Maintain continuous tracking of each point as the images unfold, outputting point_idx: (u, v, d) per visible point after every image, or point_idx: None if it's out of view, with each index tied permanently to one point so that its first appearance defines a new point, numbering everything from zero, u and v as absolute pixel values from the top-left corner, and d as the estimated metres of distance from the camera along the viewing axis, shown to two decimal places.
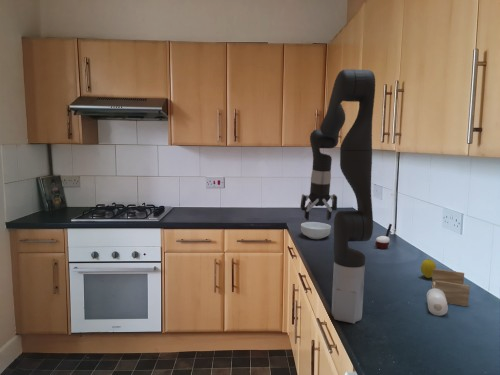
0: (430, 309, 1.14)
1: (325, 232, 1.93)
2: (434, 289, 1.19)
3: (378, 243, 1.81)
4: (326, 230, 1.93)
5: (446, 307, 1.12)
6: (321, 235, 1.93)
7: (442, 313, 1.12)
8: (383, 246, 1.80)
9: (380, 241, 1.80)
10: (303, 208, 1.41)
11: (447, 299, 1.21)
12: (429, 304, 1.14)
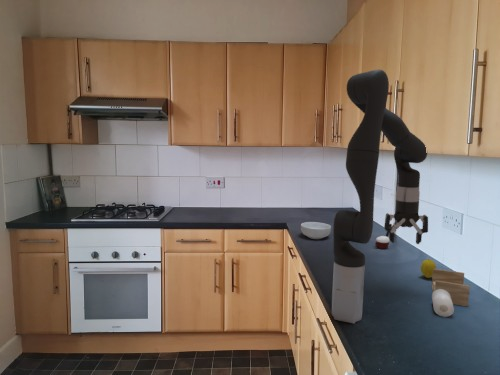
0: (435, 306, 1.13)
1: (325, 232, 1.93)
2: (445, 291, 1.18)
3: (378, 243, 1.81)
4: (326, 230, 1.93)
5: (451, 312, 1.11)
6: (321, 235, 1.93)
7: (443, 315, 1.12)
8: (383, 246, 1.80)
9: (380, 241, 1.80)
10: (387, 228, 1.29)
11: None
12: (437, 302, 1.13)
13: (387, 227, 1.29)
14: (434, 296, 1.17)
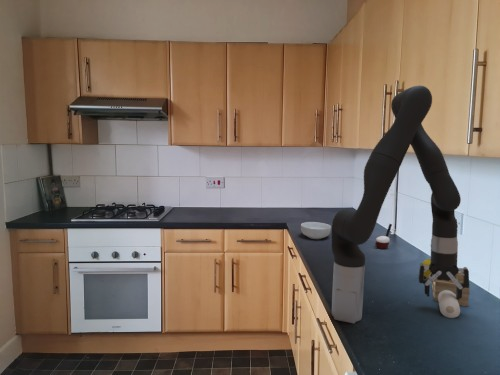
0: (445, 302, 1.12)
1: (325, 232, 1.93)
2: None
3: (378, 243, 1.81)
4: (326, 230, 1.93)
5: (451, 316, 1.11)
6: (321, 235, 1.93)
7: (443, 313, 1.12)
8: (383, 246, 1.80)
9: (380, 241, 1.80)
10: (421, 280, 1.17)
11: None
12: (451, 302, 1.11)
13: (421, 279, 1.17)
14: (447, 294, 1.15)
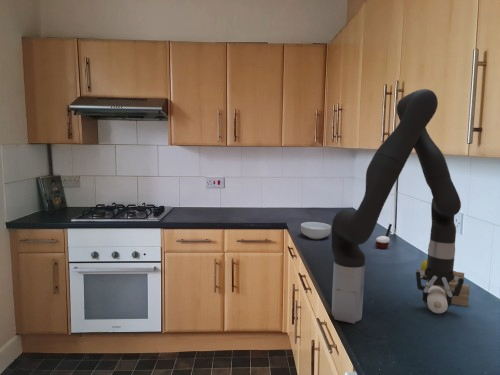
0: (429, 302, 1.13)
1: (325, 232, 1.93)
2: (440, 288, 1.18)
3: (378, 243, 1.81)
4: (326, 230, 1.93)
5: (445, 309, 1.11)
6: (321, 235, 1.93)
7: (437, 311, 1.12)
8: (383, 246, 1.80)
9: (380, 241, 1.80)
10: (419, 287, 1.17)
11: None
12: (431, 298, 1.12)
13: (419, 285, 1.17)
14: (429, 292, 1.17)
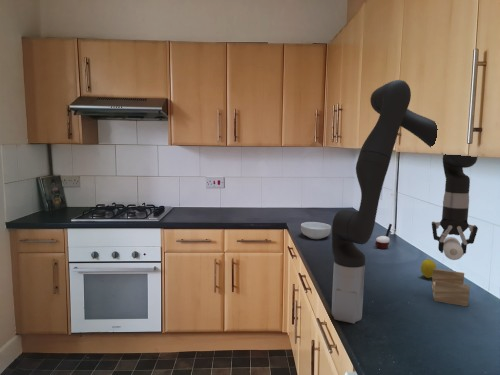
0: (445, 250, 1.20)
1: (325, 232, 1.93)
2: (455, 238, 1.25)
3: (378, 243, 1.81)
4: (326, 230, 1.93)
5: (460, 255, 1.18)
6: (321, 235, 1.93)
7: (453, 258, 1.19)
8: (383, 246, 1.80)
9: (380, 241, 1.80)
10: (436, 237, 1.23)
11: (447, 299, 1.21)
12: (448, 246, 1.19)
13: (435, 236, 1.24)
14: (444, 242, 1.24)
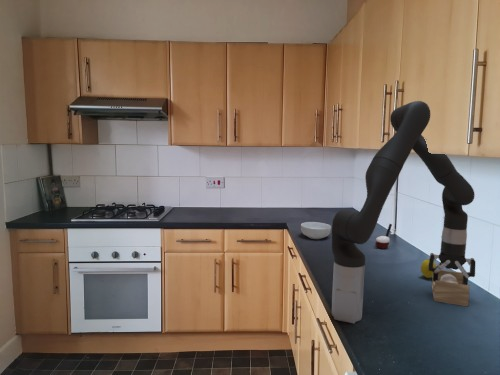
0: None
1: (325, 232, 1.93)
2: (452, 276, 1.29)
3: (378, 243, 1.81)
4: (326, 230, 1.93)
5: None
6: (321, 235, 1.93)
7: None
8: (383, 246, 1.80)
9: (380, 241, 1.80)
10: (430, 268, 1.27)
11: (447, 299, 1.21)
12: None
13: (431, 267, 1.27)
14: (442, 280, 1.28)
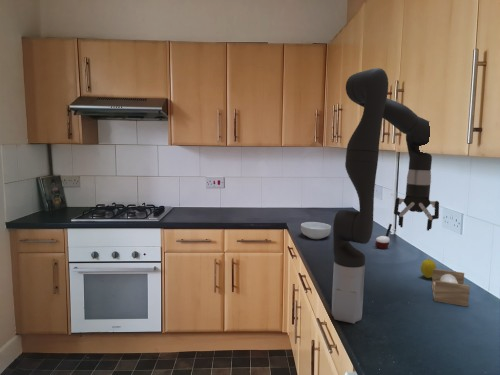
0: None
1: (325, 232, 1.93)
2: (452, 276, 1.29)
3: (378, 243, 1.81)
4: (326, 230, 1.93)
5: None
6: (321, 235, 1.93)
7: None
8: (383, 246, 1.80)
9: (380, 241, 1.80)
10: (395, 212, 1.27)
11: (447, 299, 1.21)
12: None
13: (396, 211, 1.27)
14: (442, 280, 1.28)
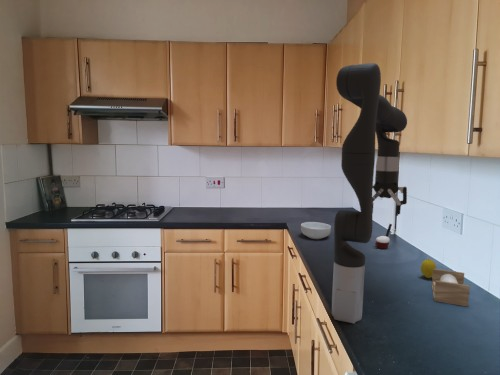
0: None
1: (325, 232, 1.93)
2: (452, 276, 1.29)
3: (378, 243, 1.81)
4: (326, 230, 1.93)
5: None
6: (321, 235, 1.93)
7: None
8: (383, 246, 1.80)
9: (380, 241, 1.80)
10: None
11: (447, 299, 1.21)
12: None
13: None
14: (442, 280, 1.28)
